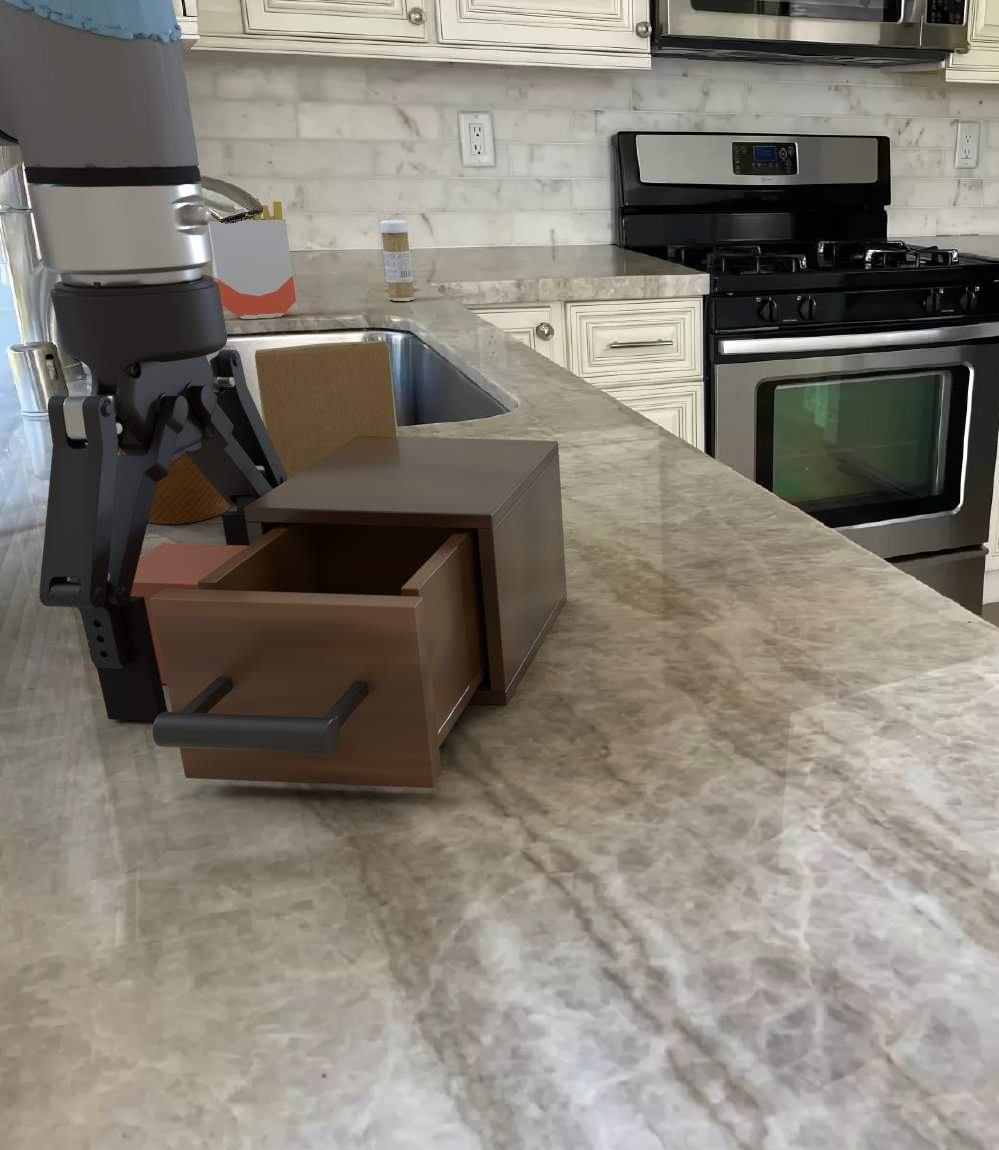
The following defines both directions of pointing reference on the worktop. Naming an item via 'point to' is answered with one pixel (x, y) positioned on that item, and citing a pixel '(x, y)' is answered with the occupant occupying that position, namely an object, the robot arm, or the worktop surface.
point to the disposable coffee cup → (184, 494)
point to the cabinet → (452, 523)
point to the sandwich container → (324, 398)
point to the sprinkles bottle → (397, 258)
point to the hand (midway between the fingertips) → (206, 660)
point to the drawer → (325, 656)
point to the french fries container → (253, 264)
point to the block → (176, 574)
